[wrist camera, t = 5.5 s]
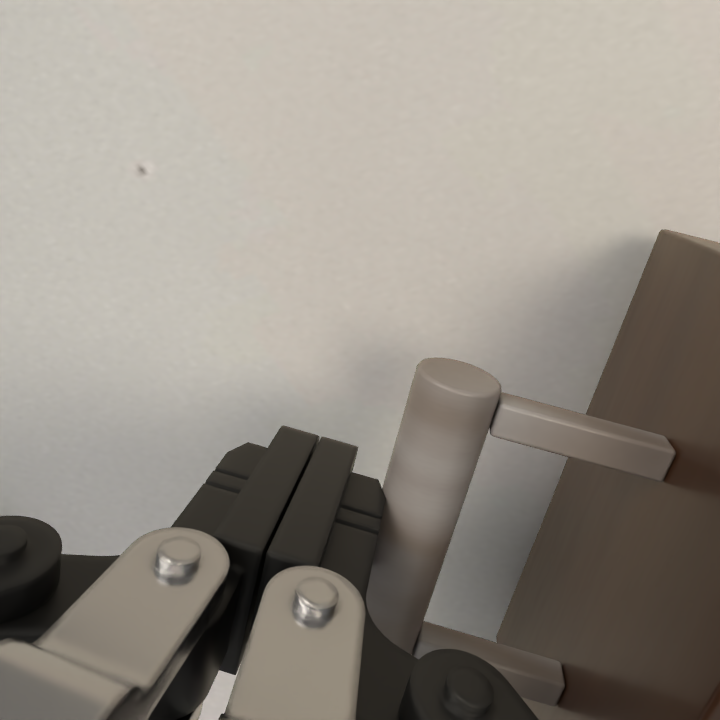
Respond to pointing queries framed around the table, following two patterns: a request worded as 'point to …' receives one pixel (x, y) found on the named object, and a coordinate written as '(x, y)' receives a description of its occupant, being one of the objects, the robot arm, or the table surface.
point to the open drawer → (584, 513)
